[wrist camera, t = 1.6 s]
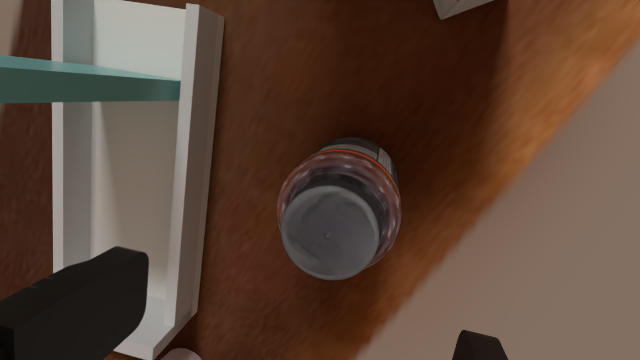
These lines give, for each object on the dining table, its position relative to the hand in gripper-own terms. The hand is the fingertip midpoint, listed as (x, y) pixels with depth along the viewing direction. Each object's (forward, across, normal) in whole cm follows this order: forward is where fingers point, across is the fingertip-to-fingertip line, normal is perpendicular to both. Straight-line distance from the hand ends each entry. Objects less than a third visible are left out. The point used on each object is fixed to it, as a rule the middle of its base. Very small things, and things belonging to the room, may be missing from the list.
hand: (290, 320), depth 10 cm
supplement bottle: (+17, 0, 0) cm, 17 cm away
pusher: (+16, +15, -4) cm, 22 cm away
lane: (+17, +15, +2) cm, 23 cm away
